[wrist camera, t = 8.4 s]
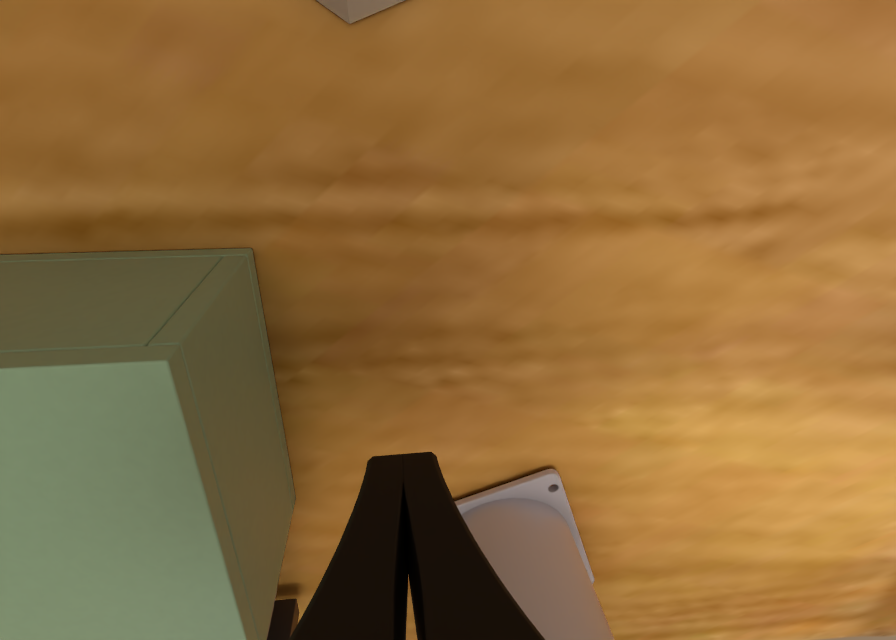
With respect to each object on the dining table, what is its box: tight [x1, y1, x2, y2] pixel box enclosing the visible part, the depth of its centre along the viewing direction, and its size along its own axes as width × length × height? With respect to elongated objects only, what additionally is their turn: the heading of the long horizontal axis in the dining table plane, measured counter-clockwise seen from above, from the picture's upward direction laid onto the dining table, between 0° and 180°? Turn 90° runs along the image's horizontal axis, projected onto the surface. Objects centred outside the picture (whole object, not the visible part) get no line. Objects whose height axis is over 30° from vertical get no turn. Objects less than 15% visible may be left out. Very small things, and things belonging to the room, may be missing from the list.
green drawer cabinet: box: [0, 248, 296, 640], centre depth 17 cm, size 13×12×8 cm
